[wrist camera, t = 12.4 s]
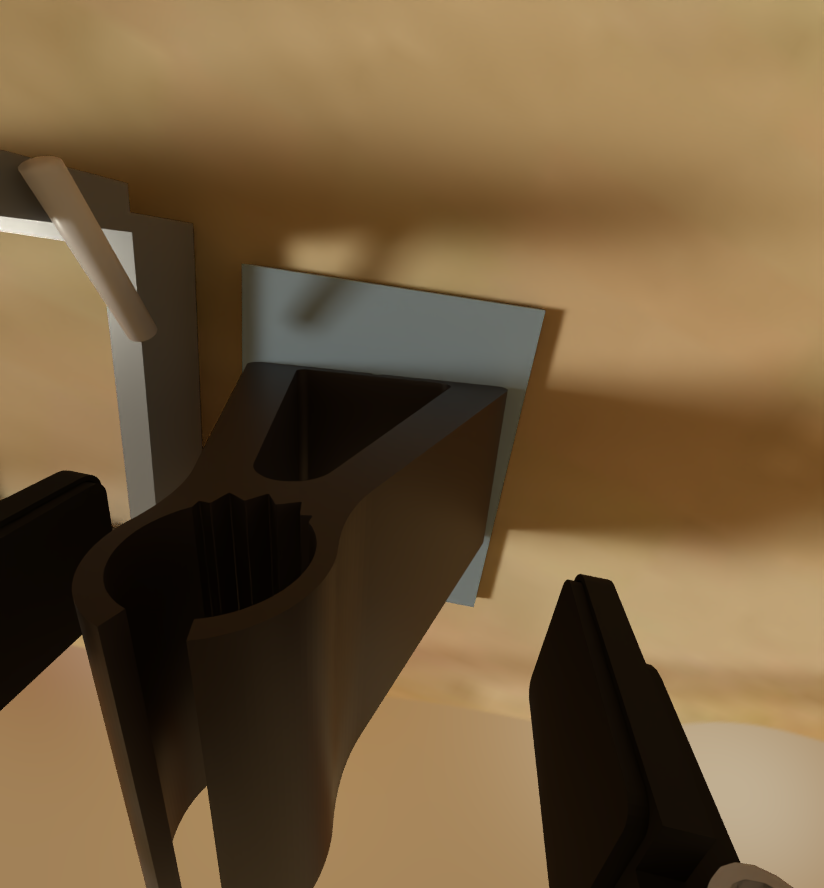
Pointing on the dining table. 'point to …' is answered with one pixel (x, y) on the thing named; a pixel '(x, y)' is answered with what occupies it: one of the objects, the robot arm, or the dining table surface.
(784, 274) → the dining table surface
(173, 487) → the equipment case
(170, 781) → the phone stand
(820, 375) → the dining table surface
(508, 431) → the slate mat
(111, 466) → the dining table surface
